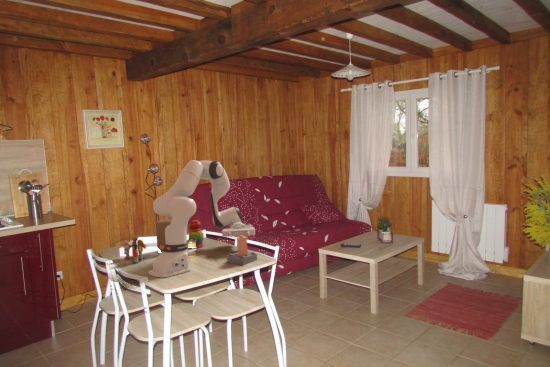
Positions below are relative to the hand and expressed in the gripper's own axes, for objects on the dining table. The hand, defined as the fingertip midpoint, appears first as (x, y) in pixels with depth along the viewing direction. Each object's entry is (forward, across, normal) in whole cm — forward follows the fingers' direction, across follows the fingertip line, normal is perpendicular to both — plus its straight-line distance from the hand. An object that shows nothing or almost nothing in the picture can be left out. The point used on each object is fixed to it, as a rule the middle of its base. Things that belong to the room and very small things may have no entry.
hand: (239, 234), depth 234 cm
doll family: (-6, -60, +13) cm, 62 cm away
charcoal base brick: (+13, 0, +13) cm, 18 cm away
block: (-18, -44, +12) cm, 49 cm away
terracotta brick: (+13, 0, +9) cm, 16 cm away
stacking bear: (-27, -27, +12) cm, 40 cm away
